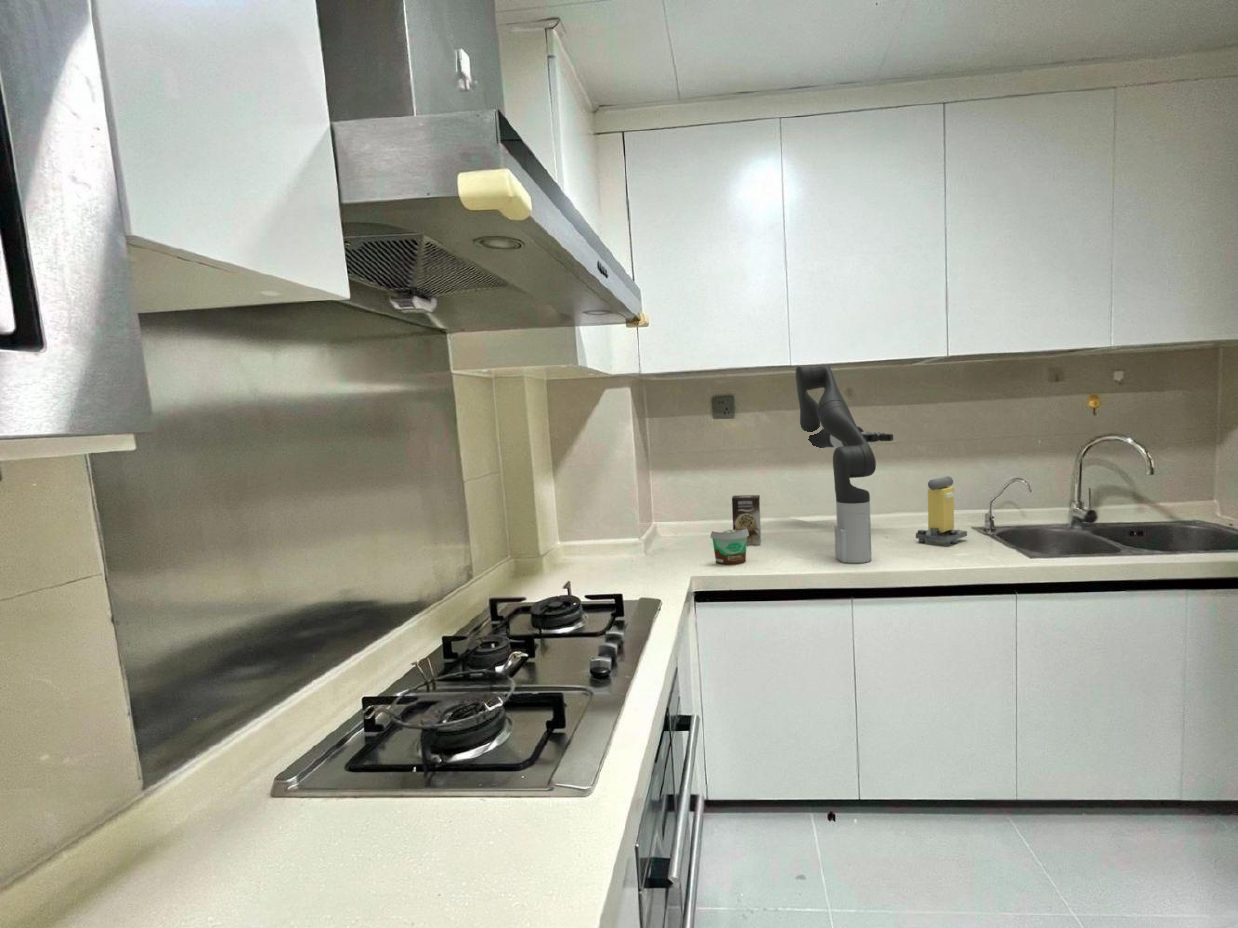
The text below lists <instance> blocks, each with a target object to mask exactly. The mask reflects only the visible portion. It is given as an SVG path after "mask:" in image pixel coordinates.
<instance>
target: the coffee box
mask: <svg viewBox="0 0 1238 928" xmlns="http://www.w3.org/2000/svg"><path fill="white" fill-rule="evenodd" d="M760 499H761V497H760V495H758V494H756V495H755V494H754V495H753V494H752V495H751V494H750V495H744V494H743V495H732V496H731V507H732V508H731V509H732V512H731V513H732V530H741V529H744V526H745V527H747V530H748V532H749V536H748V537H747V543H746V546H761V545H762V532H761V506H760V505H761V502H760V501H761V500H760Z"/></svg>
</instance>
